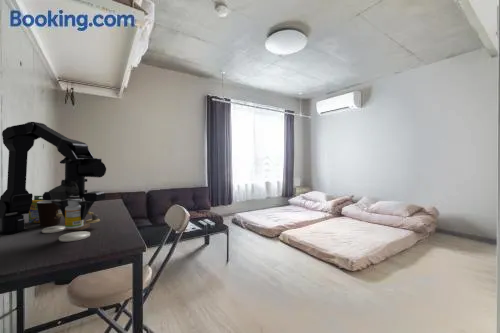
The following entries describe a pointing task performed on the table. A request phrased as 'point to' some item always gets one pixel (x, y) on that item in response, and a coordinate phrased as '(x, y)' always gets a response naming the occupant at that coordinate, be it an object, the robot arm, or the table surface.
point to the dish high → (53, 229)
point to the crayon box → (34, 210)
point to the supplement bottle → (73, 214)
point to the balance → (93, 220)
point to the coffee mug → (48, 213)
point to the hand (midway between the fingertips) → (74, 219)
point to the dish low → (74, 236)
